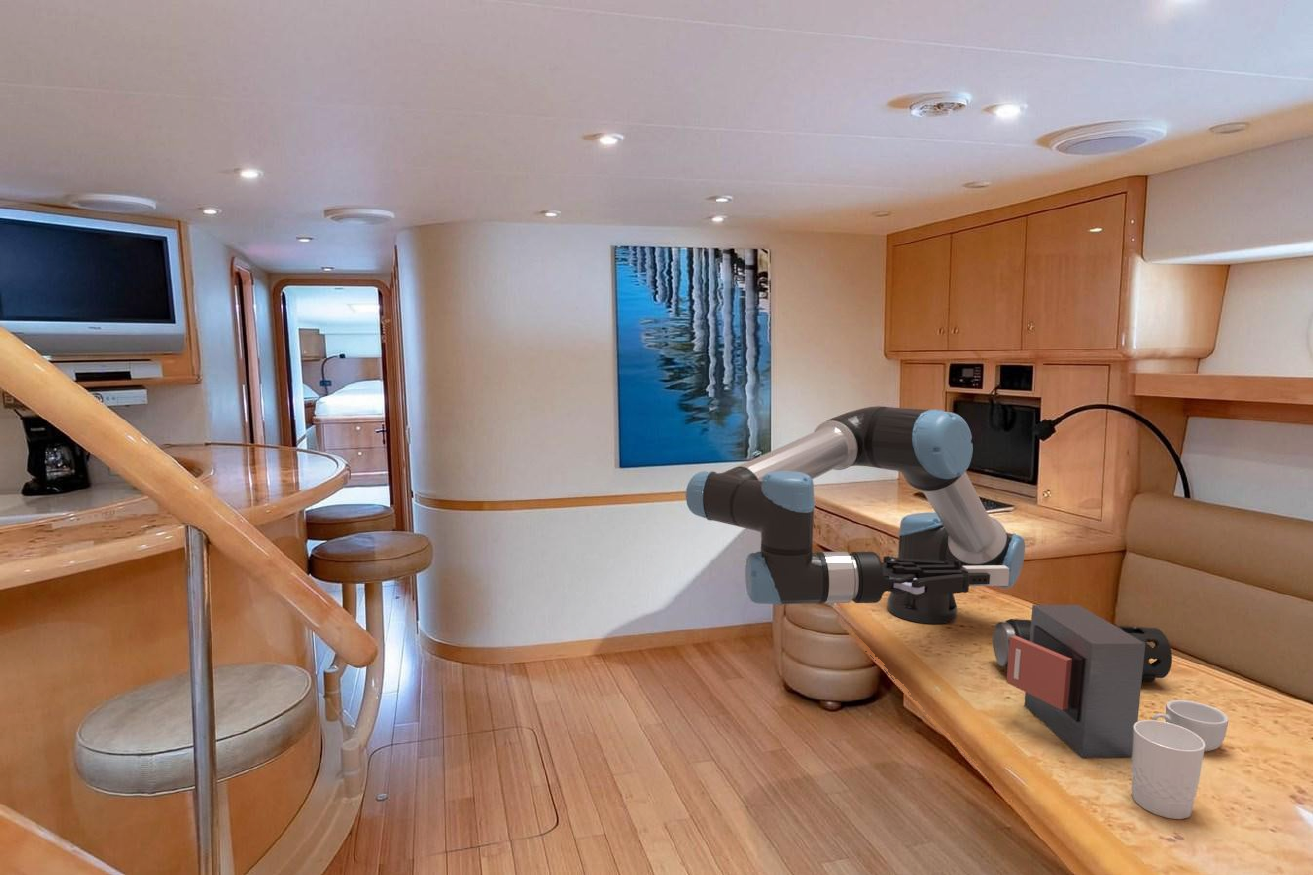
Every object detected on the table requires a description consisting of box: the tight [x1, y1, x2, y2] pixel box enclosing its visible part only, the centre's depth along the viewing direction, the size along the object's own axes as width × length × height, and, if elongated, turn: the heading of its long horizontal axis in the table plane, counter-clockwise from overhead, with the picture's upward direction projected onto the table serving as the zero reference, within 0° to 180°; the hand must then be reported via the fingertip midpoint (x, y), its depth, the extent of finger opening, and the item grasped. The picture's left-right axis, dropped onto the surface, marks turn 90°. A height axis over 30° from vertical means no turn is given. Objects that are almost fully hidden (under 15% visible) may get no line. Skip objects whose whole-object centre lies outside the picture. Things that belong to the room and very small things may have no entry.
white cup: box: [1131, 719, 1205, 820], centre depth 98 cm, size 8×8×10 cm
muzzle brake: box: [992, 618, 1173, 682], centre depth 136 cm, size 10×28×10 cm, turn 84°
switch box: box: [1023, 604, 1145, 759], centre depth 116 cm, size 16×8×18 cm, turn 2°
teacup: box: [1152, 699, 1229, 752], centre depth 114 cm, size 10×8×5 cm
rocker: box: [1006, 635, 1072, 710], centre depth 116 cm, size 10×1×8 cm, turn 25°
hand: (1006, 575), depth 109 cm, fingers closed
